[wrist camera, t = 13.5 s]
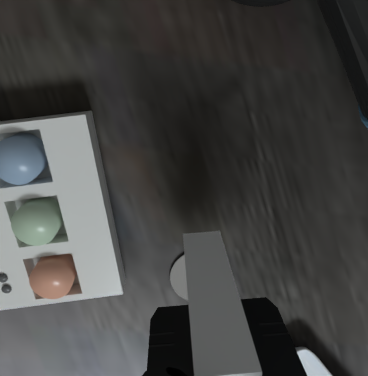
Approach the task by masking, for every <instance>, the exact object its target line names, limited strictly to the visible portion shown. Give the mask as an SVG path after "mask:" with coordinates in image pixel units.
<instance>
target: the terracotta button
mask: <svg viewBox="0 0 368 376" xmlns="http://www.w3.org/2000/svg"><path fill="white" fill-rule="evenodd" d="M76 275H77V271H76V267H75V263H74V259H73V256H72V255H71V254H69V253H68V254H60V255H52V256H44V257H41V258H40V260H39V261H38V263H37V264H36V266H35V267H34V269H33V271H32V272H31V274H30V277H29V283H30V286H31V288H32V290H33V291H34V292H35V293H36V294H37V295H39V296H41V297H43V298H47V299H58V298H61V297H63V296H65V295H66V294H67V293H68V292H69V291H70V289H71V287H72V285H73V282H74V280H75V277H76Z"/></svg>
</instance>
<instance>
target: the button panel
mask: <svg viewBox="0 0 368 376" xmlns="http://www.w3.org/2000/svg"><path fill="white" fill-rule="evenodd" d="M17 133H30V134H33V135H35V136H37V137H38V138H40V139H41V140H42V141H43V145H44V148H45V152H46V156H47V160H48V165H47V167H46V168H45V170H44V171H42V172H41V173H40V174H39V175H38V176H37V177H36V178H34V179H33V180H32V181H31V182H29V183H26V184H22V185H15V184H11V183H8V182H6V181H4V180H2V179H1V178H0V310H6V309H14V308H22V307H29V306H37V305H45V304H52V303H60V302H67V301H75V300H83V299H90V298H98V297H106V296H113V295H121V294H123V292H124V286H125V280H126V277H125V272H124V267H123V262H122V257H121V252H120V247H119V242H118V237H117V232H116V227H115V222H114V217H113V213H112V208H111V203H110V198H109V193H108V188H107V183H106V178H105V173H104V168H103V163H102V158H101V153H100V148H99V143H98V138H97V134H96V129H95V124H94V119H93V114H92V110H91V111H83V112H75V113H66V114H58V115H50V116H41V117H33V118H25V119H16V120H8V121H0V141H2V140H4V139H6V138H8V137H10V136H12V135H15V134H17ZM47 196H49V197H51V198H53V199H55V200H56V201H58V202H59V206H60V210H61V213H62V217H63V221H64V222H63V224H62V226H61V227H60V229H59V230H58V232H57V234H56V235H55V237H54V238H53V239H52V240H51V241H50V242H49V243H47V244H44V245H40V246H33V245H28V244H26V243H24V242H22V241H20V240H19V239H18V238H17V237H16V236H15V234H14V233H13V231H12V228H11V219H12V216H13V214H14V213H15V212H16V211H17V210H18V209H19V208H20V207H21V206H22V205H23V204H24V203H25V202H26V201H27V200H28V199H31V198H39V197H47ZM68 253H69V254H71V255H72V256H73V259H74V263H75V267H76V271H77V275H76V277H75V280H74V282H73V285H72V287H71V289H70V291H69V292H68V293H67V294H66V295H65V296H63V297H61V298H58V299H47V298H43V297H41V296H39V295H37V294H36V293H35V292H34V291H33V290H32V288H31V286H30V283H29V277H30V274H31V272H32V271H33V269H34V267H35V266H36V264H37V263H38V261H39V260H40V258H41V257H44V256H52V255H60V254H68Z"/></svg>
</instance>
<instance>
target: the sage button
mask: <svg viewBox="0 0 368 376" xmlns="http://www.w3.org/2000/svg"><path fill="white" fill-rule="evenodd" d="M63 222H64V221H63V217H62V213H61V210H60V206H59V202H58V201H56V200H55V199H53V198H51V197H49V196H47V197H39V198H31V199H28V200H27V201H26V202H25V203H24V204H23V205H22V206H21V207H20V208H19V209H18V210H17V211H16V212H15V213H14V214H13V216H12V219H11V228H12V231H13V233H14V234H15V236H16V237H17V238H18V239H19V240H20V241H22V242H24V243H26V244H28V245H33V246H40V245H44V244H47V243H49V242H50V241H51V240H52V239H53V238H54V237H55V235H56V234H57V232H58V230H59V229H60V227H61V226H62V224H63Z"/></svg>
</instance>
